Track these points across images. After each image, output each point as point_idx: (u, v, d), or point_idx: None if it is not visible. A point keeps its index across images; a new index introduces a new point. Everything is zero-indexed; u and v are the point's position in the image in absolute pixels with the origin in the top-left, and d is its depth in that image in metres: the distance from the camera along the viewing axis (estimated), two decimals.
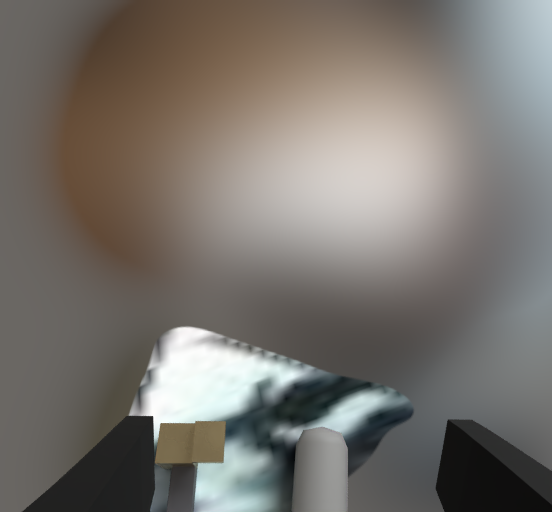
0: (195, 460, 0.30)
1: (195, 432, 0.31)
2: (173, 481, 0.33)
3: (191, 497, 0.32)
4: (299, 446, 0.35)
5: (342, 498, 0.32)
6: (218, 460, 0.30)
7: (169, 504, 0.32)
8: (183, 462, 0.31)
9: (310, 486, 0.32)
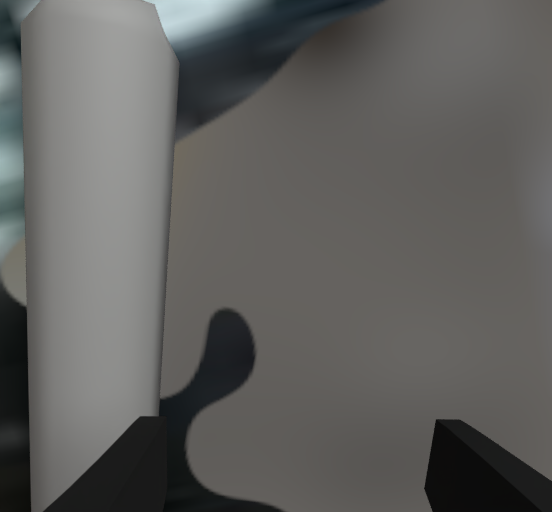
0: None
1: None
2: None
3: None
4: (23, 37, 0.12)
5: (135, 164, 0.13)
6: None
7: None
8: None
9: (43, 136, 0.12)
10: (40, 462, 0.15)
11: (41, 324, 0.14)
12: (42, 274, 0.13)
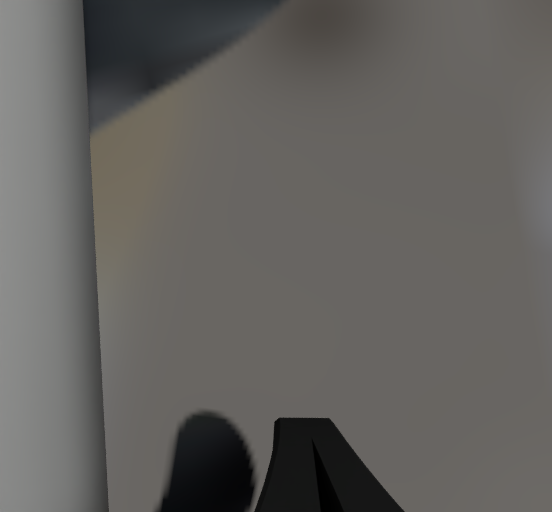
0: None
1: None
2: None
3: None
4: None
5: None
6: None
7: None
8: None
9: None
10: None
11: None
12: None
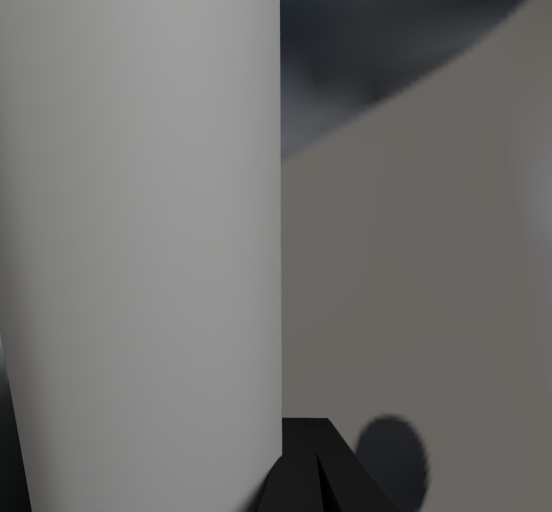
0: None
1: None
2: None
3: None
4: None
5: (234, 168, 0.05)
6: None
7: None
8: None
9: (2, 127, 0.05)
10: None
11: None
12: (47, 445, 0.06)
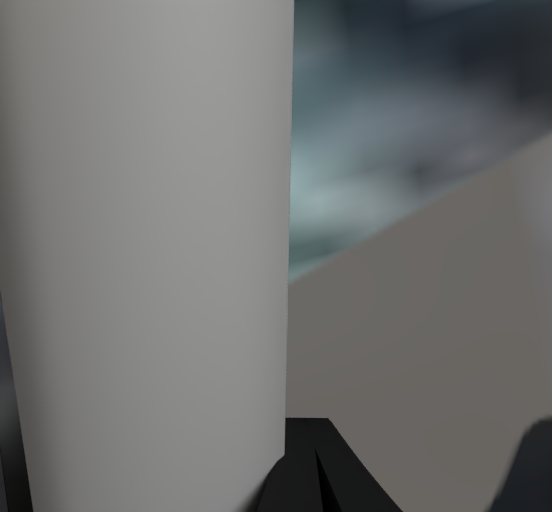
0: None
1: None
2: None
3: None
4: None
5: (246, 181, 0.05)
6: None
7: None
8: None
9: (18, 136, 0.05)
10: None
11: None
12: (53, 451, 0.06)
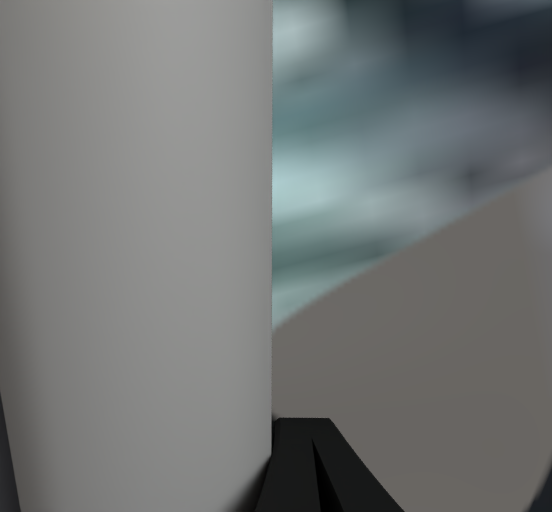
0: None
1: None
2: None
3: None
4: None
5: (228, 181, 0.05)
6: None
7: None
8: None
9: None
10: None
11: None
12: (40, 452, 0.06)
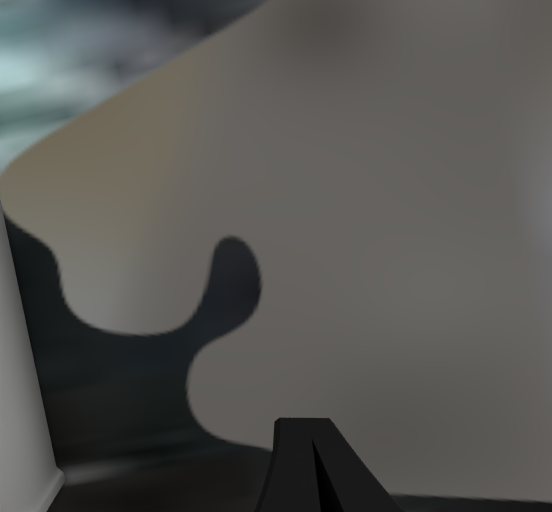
0: None
1: None
2: None
3: None
4: None
5: None
6: None
7: None
8: None
9: None
10: None
11: None
12: None
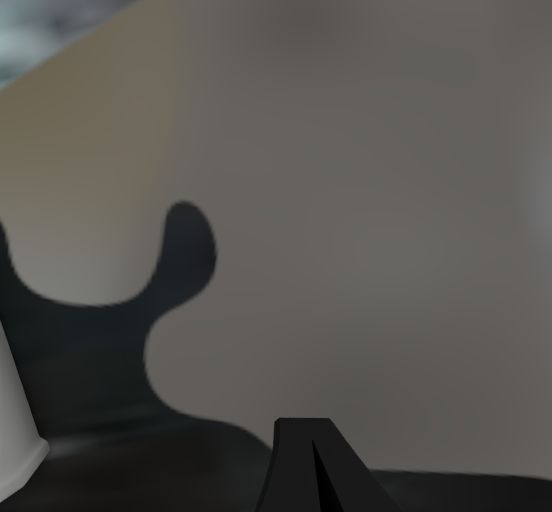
0: None
1: None
2: None
3: None
4: None
5: None
6: None
7: None
8: None
9: None
10: None
11: None
12: None
